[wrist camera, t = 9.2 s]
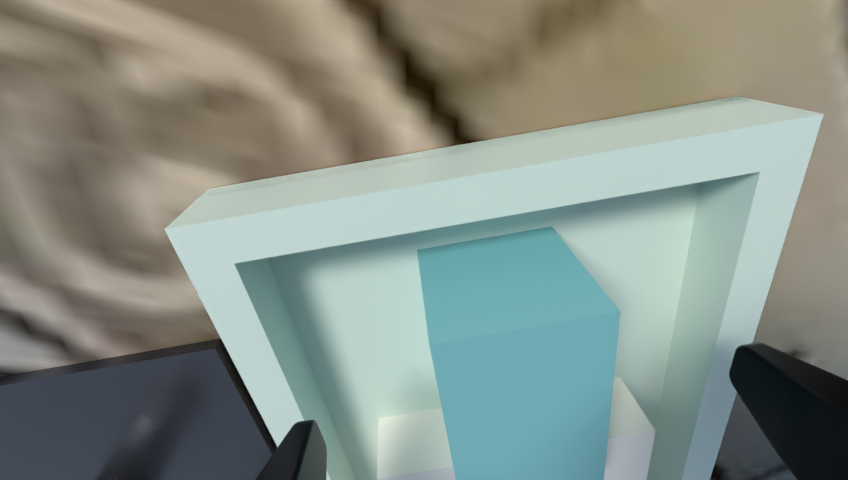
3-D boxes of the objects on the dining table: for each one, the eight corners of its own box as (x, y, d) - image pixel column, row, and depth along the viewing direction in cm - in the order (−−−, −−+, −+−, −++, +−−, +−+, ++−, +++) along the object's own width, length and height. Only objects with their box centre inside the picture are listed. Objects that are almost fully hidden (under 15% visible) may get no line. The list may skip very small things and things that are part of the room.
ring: (605, 511, 17) (653, 618, 14) (417, 543, 17) (424, 658, 14) (637, 211, 10) (743, 290, 7) (330, 264, 10) (306, 365, 7)
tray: (649, 519, 19) (679, 576, 17) (373, 567, 19) (372, 629, 17) (737, 96, 10) (823, 114, 8) (208, 188, 10) (164, 229, 8)
